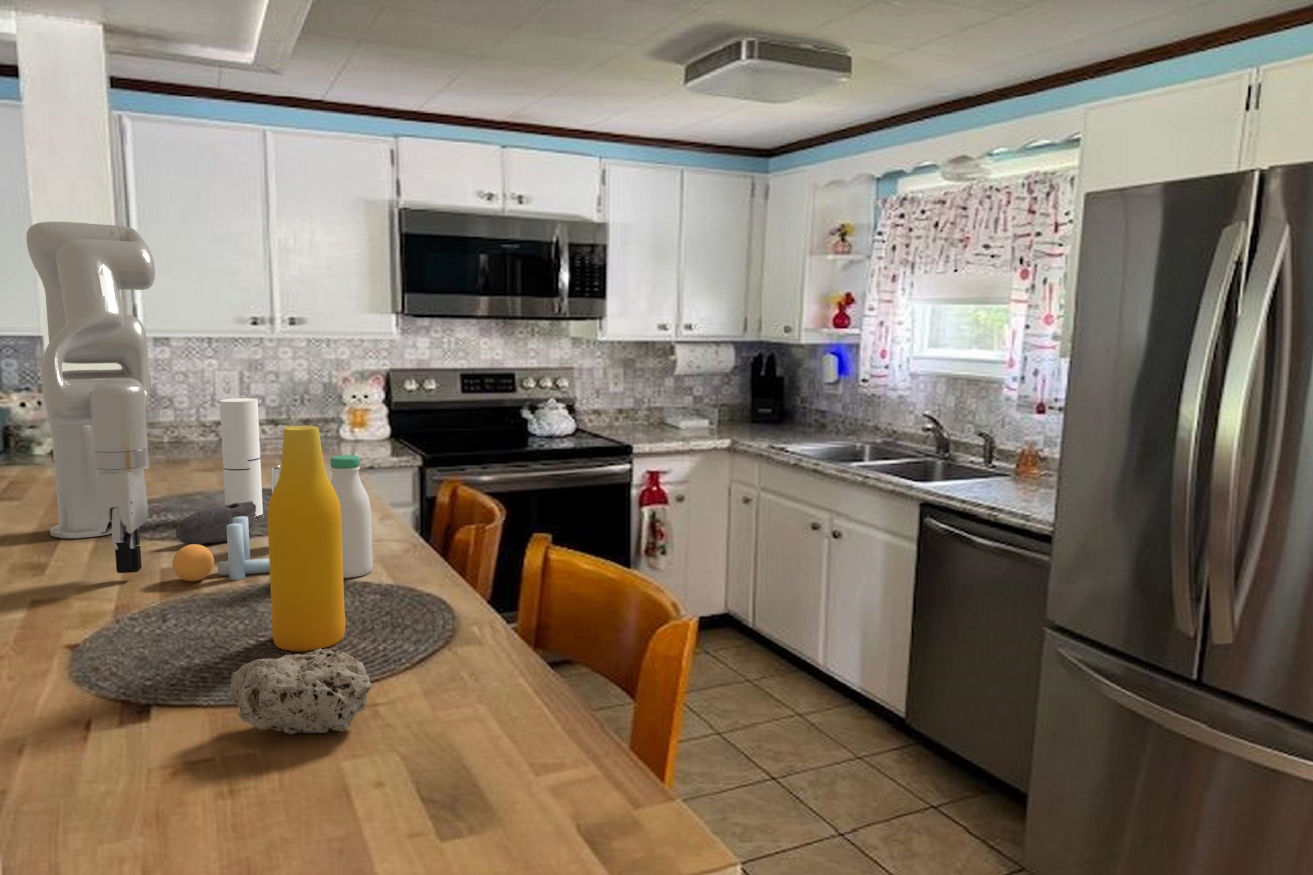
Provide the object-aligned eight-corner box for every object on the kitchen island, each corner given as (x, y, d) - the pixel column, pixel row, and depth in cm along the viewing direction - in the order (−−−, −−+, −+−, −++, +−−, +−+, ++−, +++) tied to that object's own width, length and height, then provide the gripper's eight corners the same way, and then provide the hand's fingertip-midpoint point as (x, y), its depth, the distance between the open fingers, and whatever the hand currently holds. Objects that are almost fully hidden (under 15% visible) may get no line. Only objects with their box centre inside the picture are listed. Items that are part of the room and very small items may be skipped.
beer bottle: (272, 632, 122) (262, 424, 118) (343, 624, 126) (336, 422, 122) (272, 656, 114) (262, 433, 110) (348, 647, 117) (341, 431, 113)
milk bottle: (382, 569, 152) (379, 455, 149) (349, 581, 145) (345, 461, 142) (348, 563, 155) (344, 451, 152) (314, 575, 148) (309, 457, 145)
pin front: (220, 559, 148) (278, 556, 151) (221, 573, 149) (278, 570, 151) (217, 563, 146) (276, 559, 149) (218, 577, 146) (277, 573, 149)
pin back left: (230, 576, 147) (228, 523, 145) (246, 575, 147) (243, 522, 146) (227, 580, 144) (225, 527, 143) (243, 579, 145) (241, 526, 144)
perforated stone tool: (180, 551, 161) (178, 514, 160) (172, 545, 165) (169, 509, 164) (265, 538, 172) (263, 503, 171) (255, 532, 175) (253, 498, 174)
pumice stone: (229, 763, 87) (224, 686, 86) (233, 713, 98) (229, 644, 97) (376, 738, 93) (373, 666, 92) (364, 693, 104) (362, 628, 102)
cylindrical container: (270, 516, 189) (264, 399, 185) (238, 522, 183) (232, 402, 179) (250, 511, 192) (244, 397, 189) (218, 517, 187) (212, 400, 183)
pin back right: (236, 567, 152) (233, 516, 150) (251, 567, 152) (249, 516, 151) (233, 571, 149) (231, 519, 148) (249, 571, 150) (246, 519, 149)
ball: (228, 557, 147) (201, 572, 148) (202, 531, 145) (175, 546, 146) (211, 578, 142) (184, 594, 143) (184, 552, 139) (157, 568, 141)
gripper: (110, 453, 147) (118, 560, 150) (78, 469, 133) (87, 586, 136) (160, 452, 149) (167, 557, 152) (133, 467, 135) (141, 583, 138)
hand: (129, 570), depth 144 cm, fingers closed
